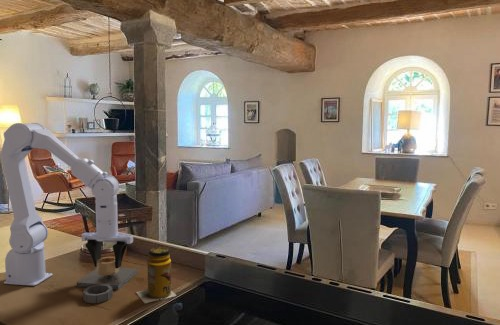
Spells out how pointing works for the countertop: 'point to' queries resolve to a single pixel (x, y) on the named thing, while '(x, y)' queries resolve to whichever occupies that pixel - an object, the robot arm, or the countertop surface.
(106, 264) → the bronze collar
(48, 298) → the countertop surface
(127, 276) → the piston stand
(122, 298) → the countertop surface
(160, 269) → the condiment
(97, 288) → the grey octagonal ring
